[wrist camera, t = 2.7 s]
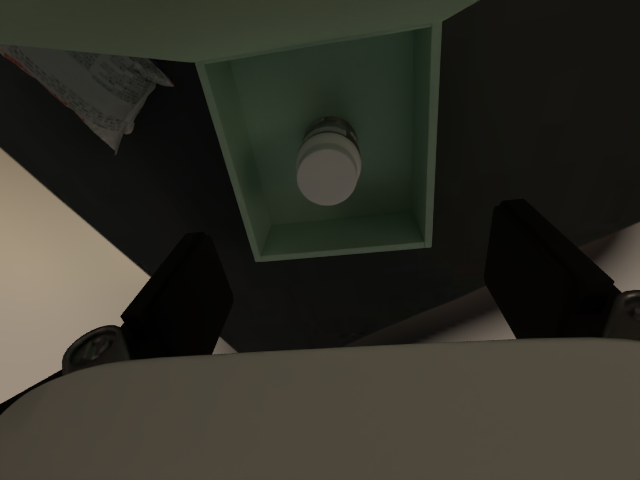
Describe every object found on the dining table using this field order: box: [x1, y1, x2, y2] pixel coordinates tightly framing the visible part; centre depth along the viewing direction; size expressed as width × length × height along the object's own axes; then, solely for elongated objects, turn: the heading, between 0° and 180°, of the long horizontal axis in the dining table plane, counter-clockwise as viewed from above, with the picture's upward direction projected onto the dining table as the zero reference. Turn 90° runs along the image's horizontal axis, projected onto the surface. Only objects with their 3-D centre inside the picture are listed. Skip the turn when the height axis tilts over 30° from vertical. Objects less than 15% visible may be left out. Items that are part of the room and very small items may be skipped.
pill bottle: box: [296, 116, 361, 206], centre depth 25 cm, size 5×5×8 cm
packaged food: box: [0, 44, 174, 155], centre depth 24 cm, size 9×12×5 cm
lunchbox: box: [195, 21, 442, 262], centre depth 26 cm, size 16×15×6 cm
